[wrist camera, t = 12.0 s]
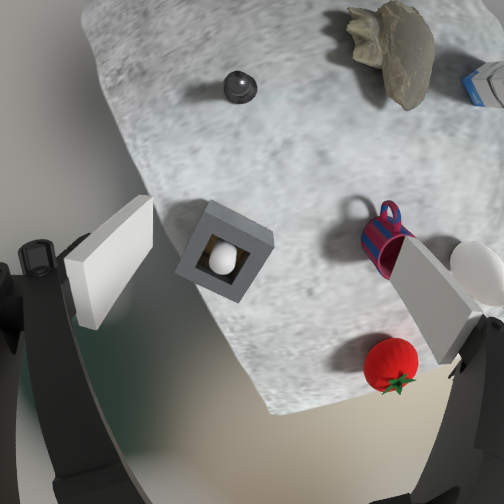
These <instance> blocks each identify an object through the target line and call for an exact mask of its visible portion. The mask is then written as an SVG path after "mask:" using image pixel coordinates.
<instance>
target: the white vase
mask: <svg viewBox="0 0 504 504" xmlns="http://www.w3.org/2000/svg"><path fill="white" fill-rule="evenodd" d="M450 267H451V272H452V275H453V276H454V277H455V279H456V280H457V281H458V282H459V283H460V284H461V285H462V287H463V288H464V289H465V290H466V291H467V292H468V294H469V295H470V296H471V297H472V298H474V299H475V300H477V301H479V302H481V303H483V304H486V305H489V306H494V307H503V308H504V265H503V263H502V261H501V260H500V259H499V257H498V256H497V255H496V254H495V253H494V252H493V251H491V250H490V249H489V248H488V247H486V246H484V245H482V244H480V243H478V242H473V241H465V242H461V243H460V244H458V245H457V246H456V248H455V249H454V250H453V252H452V254H451V258H450Z"/></svg>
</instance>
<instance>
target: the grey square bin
mask: <svg viewBox="0 0 504 504" xmlns="http://www.w3.org/2000/svg"><path fill="white" fill-rule="evenodd" d="M212 234H214V235H216V236H218V237H220V238H222V239H224V240H225V241H227V242H229V243H231V244H233V245H235V246H237V247H239V248H241V249H243V250H244V251H243V253H242V255H241V256H240V258H239V260H238V261H237V263H236V265H235V267H234V269H233V270H232V271H231V272H230V273H228V274H223V275H222V274H217V273H215V272H214V271H213V270H212V269H211V268H210V265H209V259H210V256H211V254H209V253H207V252H205V251H204V249H205V247H206V245H207V243H208V241H209V239H210V237H211V235H212ZM273 249H274V238H273V231H271V230H269V229H267V228H265V227H263V226H262V225H260V224H258V223H256V222H254V221H252V220H250V219H248V218H246V217H244V216H242V215H240V214H239V213H237V212H235V211H233V210H231V209H229V208H227V207H225V206H223V205H221V204H219V203H217V202H215V201H213V200H210V202H209V203H208V205H207V207H206V208H205V210H204V212H203V214H202V216H201V218H200V220H199V222H198V224H197V226H196V228H195V230H194V232H193V234H192V236H191V238H190V240H189V243H188V245H187V247H186V249H185V251H184V253H183V255H182V257H181V260H180V262H179V264H178V266H177V268H176V270H175V273H176V274H178V275H180V276H182V277H184V278H186V279H188V280H190V281H192V282H194V283H196V284H198V285H200V286H202V287H204V288H207V289H209V290H211V291H213V292H215V293H217V294H219V295H221V296H224V297H226V298H228V299H230V300H232V301H234V302H237V303H239V302H240V300H241V299H242V297H243V296H244V294H245V293H246V291H247V290H248V288H249V286H250V285H251V283H252V282H253V280H254V279H255V277H256V276H257V274H258V272H259V271H260V269H261V268H262V266H263V265H264V263H265V261H266V260H267V258H268V257H269V255H270V254H271V252H272V250H273Z"/></svg>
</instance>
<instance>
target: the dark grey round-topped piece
mask: <svg viewBox="0 0 504 504" xmlns="http://www.w3.org/2000/svg"><path fill="white" fill-rule="evenodd" d="M224 92H225V95H226V97H227V98H228V99H229V100H230V101H232V102H234V103H237V104H244V103H247V102H249V101H251V100H252V99H253V98H254V97H255V95H256V93H257V84H256V82H255V80H254V79H253V78H252V77H251V76H249V75H247V74H245V73H243V72H241V71H234V72H231V73H230V74H228V76H227V77H226V79H225V85H224Z"/></svg>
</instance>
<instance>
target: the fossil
mask: <svg viewBox="0 0 504 504" xmlns="http://www.w3.org/2000/svg"><path fill="white" fill-rule="evenodd" d="M347 9H348V10H349V13H350V14H351V16H352V21H349V23H350V24H348V25H347V32H349V33H350V34H351V35H352V37H353V40H354V42H355V49H354V51H353V59H354V60H356V61H357V62H361V63H363V64H366V65H369V66H372V67H374V68H377V69H382V70H383V78H384V85H385V92H386V94H387V95H388V96H389V97H390V98H392V99H393V100H394V101H395V102H396V103H398V104H400V105H401V106H402V108H403V109H404V110H405V111H410V110H412V109H414V108H415V107H417V106H418V105H419V104H420V103H421V102H422V101H423V100H424V98H425V94H426V91H427V89H428V86H429V83H430V77H431V73H432V65H433V62H434V58H435V45H434V38H433V35H432V33H431V31H430V28H429V26H428V25H427V24H426V23H425V21H424V19H423V17H422V16H421V15H420V13H419V11H417V10H416V9H415V8H414V7H408V6H406V5H404V4H403V3H402V2H400V1H390V2H388V3H386V4H383V6H381V8H378V11H377V12H373V11H370V10H367V9H362V8H352V7H348V8H347Z"/></svg>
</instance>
